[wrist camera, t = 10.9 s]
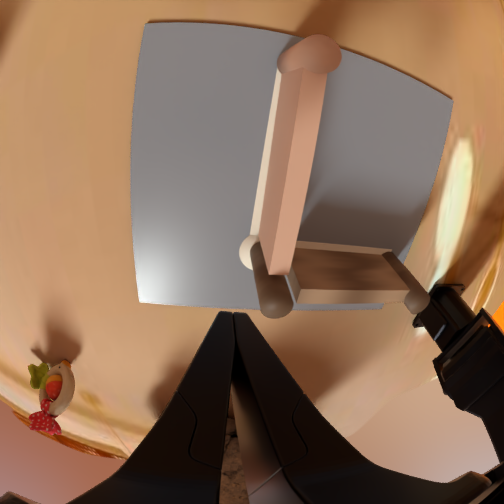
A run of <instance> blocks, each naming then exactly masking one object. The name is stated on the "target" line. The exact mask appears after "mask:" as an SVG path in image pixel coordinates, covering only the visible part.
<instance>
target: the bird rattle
mask: <svg viewBox="0 0 504 504" xmlns="http://www.w3.org/2000/svg"><path fill="white" fill-rule="evenodd" d="M28 370H29V372H30V375H31V380H30V384H31V387H32V388H33V389H39V388H40V392H39V400H40V405H41V410H42V411H39V412H36V413H33V414H31V415H30V416H29V419H30V420H31V421H32V423H31V424H30V426H29V427H30V429H31V430H37V431H44V432H48V433H49V434H50V435H53V434H54V433H56V434H58V435H60V434H61V433H62V432H61V428H60V426H59V424H58V423H57V422H56V421H55V418H56V417H58V415H60V414H61V413H63V412H64V411H65V410H66V409H67V407H68V406H69V404H70V402H71V400H72V398H73V394H74V389H75V380H74V375H73V372H72V371H71V365H70V363H69V362H67V361H66V360H63V361H62V362H61V363H60V364H58V365H55V366H54V367H52V368H51V369H50V370H49V368H48V365H47V364H46V363H44V362H43V363H41V364H40V365H39V366H38V367H37V366H35V365H34V364H31V365H29V366H28ZM51 399H52V400H53V401H52V400H51Z"/></svg>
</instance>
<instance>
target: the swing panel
mask: <svg viewBox="0 0 504 504" xmlns="http://www.w3.org/2000/svg"><path fill="white" fill-rule="evenodd" d="M341 59H342V54H341V50H340V48H339V46H338V44H337V43H336V42H335V41H334V40H333V39H331V38H330V37H328V36H326V35H322V34H314V35H310V36H308V37H306V38H305V39H303V40H302V41H300V42H298V43H297V44H295V45H294V46H292V47H291V48H289V49H288V50H286V51H285V52H283V53H282V54H281V55H280V56H279V57H278V59H277V68H278V70H279V72H280V73H281V74H282V75H281V82H280V89H279V96H278V103H277V110H276V117H275V124H274V131H273V138H272V145H271V152H270V159H269V166H268V173H267V179H266V186H265V193H264V200H263V207H262V214H261V221H260V227H259V234H258V236H259V240H260V244H261V247H262V251H263V255H264V258H265V262H266V266H267V270H268V273H269V275H289V271H290V267H291V263H292V259H293V254H294V250H295V245H296V241H297V236H298V232H299V227H300V222H301V218H302V213H303V208H304V203H305V198H306V193H307V188H308V183H309V178H310V173H311V168H312V163H313V157H314V152H315V146H316V141H317V135H318V129H319V124H320V118H321V112H322V105H323V99H324V93H325V86H326V80H327V73H329V72H332V71H334V70H335V69H337V68H338V66H339V65H340V63H341Z"/></svg>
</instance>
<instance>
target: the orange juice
mask: <svg viewBox="0 0 504 504" xmlns="http://www.w3.org/2000/svg"><path fill="white" fill-rule="evenodd" d="M493 319H494V320H495V321H496V322H497V323H498V325H499V326H500V327H501V329H502V330H503V332H504V302H503V303H502V304H501V306H500V307H499V309H498V310H497V311H496V313H495V314H494V315H493ZM489 326H490V324H489V325H488V327H489Z"/></svg>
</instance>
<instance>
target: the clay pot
mask: <svg viewBox="0 0 504 504" xmlns="http://www.w3.org/2000/svg"><path fill="white" fill-rule="evenodd" d="M221 472H222V474H221V485H220V501H219V504H250V503H249V498H248V497H249V496H248V493H247V487H246V482H245V476H244V471H243V465H242V459H241V454H240V448H239V442H238V435H237V429H236V423H235V419H230V418H227V426H226V436H225V445H224V454H223V464H222V470H221Z"/></svg>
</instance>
